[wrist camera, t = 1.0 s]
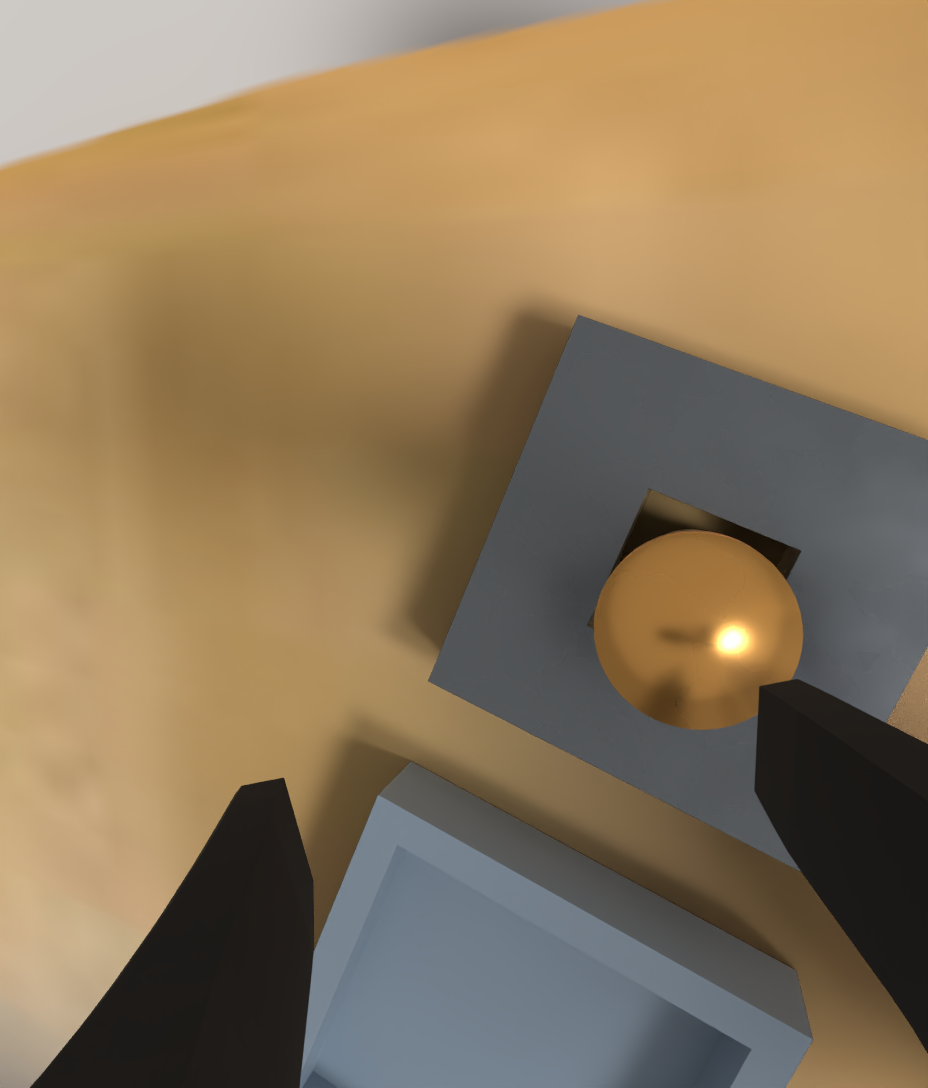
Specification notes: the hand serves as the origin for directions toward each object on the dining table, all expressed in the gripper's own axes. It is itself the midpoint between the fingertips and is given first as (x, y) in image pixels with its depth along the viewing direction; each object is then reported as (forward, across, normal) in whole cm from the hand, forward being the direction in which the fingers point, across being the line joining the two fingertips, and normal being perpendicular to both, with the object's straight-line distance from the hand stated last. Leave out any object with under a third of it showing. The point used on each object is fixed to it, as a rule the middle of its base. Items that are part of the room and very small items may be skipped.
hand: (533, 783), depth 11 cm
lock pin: (+11, -7, +3) cm, 14 cm away
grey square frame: (+11, -7, +3) cm, 14 cm away
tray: (+8, 0, +18) cm, 20 cm away
